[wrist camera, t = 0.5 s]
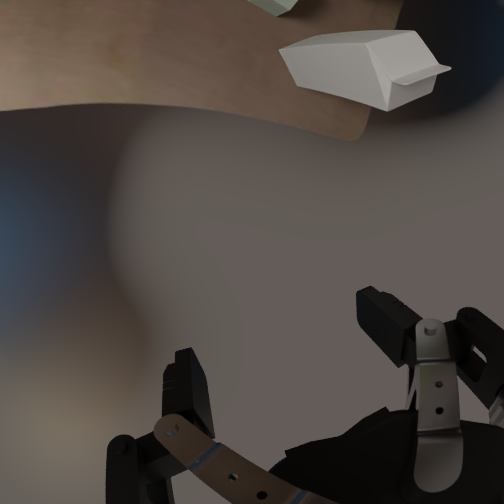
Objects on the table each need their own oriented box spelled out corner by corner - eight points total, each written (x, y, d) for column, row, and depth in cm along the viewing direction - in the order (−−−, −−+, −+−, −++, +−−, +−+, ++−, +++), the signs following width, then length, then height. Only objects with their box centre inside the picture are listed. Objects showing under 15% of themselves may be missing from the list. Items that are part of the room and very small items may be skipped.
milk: (277, 49, 28) (390, 42, 11) (315, 35, 27) (443, 31, 10) (297, 87, 32) (413, 123, 15) (332, 72, 31) (459, 101, 14)
